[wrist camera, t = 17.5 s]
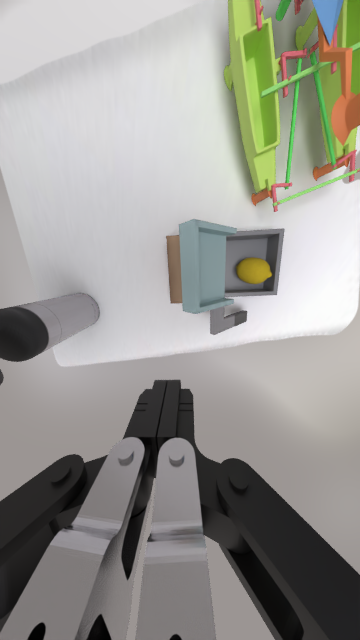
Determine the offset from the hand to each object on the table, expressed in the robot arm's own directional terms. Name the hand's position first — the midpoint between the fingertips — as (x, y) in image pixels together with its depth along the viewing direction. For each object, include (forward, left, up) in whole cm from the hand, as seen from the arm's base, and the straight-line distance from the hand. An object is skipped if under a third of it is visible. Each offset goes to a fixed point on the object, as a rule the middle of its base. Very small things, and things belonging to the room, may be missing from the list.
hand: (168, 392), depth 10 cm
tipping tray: (+7, +4, -25) cm, 26 cm away
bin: (+14, +8, -35) cm, 38 cm away
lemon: (+19, +5, -28) cm, 34 cm away
